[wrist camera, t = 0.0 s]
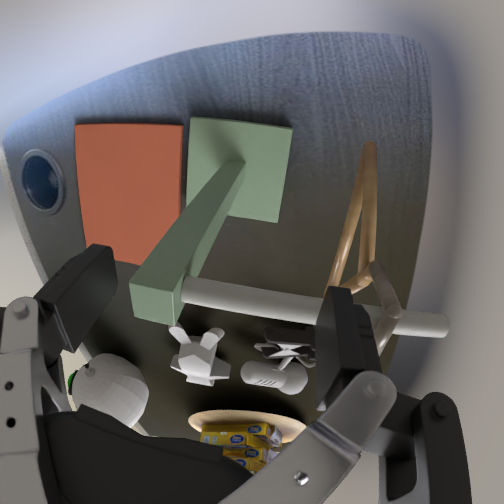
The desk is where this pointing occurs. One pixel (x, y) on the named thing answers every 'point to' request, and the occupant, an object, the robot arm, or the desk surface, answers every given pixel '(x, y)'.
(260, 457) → the stacked boxes on plate
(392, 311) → the hanger
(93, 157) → the mat
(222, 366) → the bunny figurine
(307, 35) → the desk surface
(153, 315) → the hook stand
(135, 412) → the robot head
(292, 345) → the clip-on lamp
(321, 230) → the desk surface
